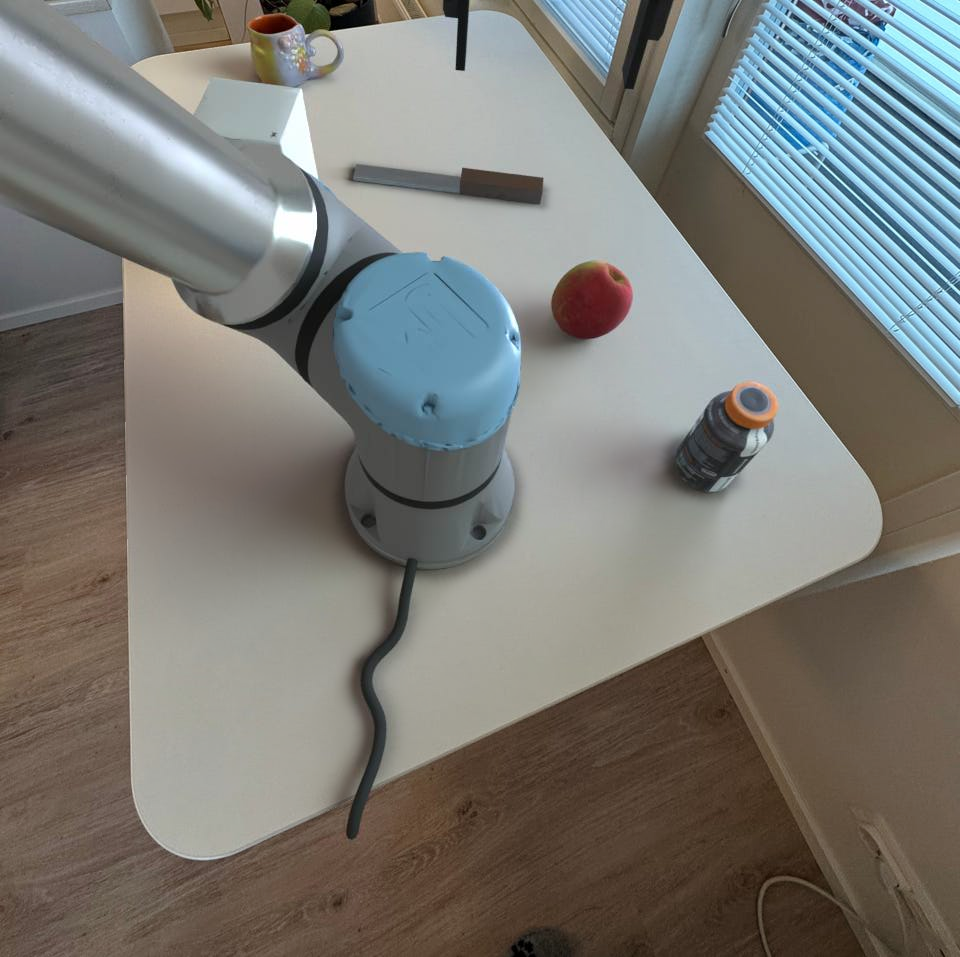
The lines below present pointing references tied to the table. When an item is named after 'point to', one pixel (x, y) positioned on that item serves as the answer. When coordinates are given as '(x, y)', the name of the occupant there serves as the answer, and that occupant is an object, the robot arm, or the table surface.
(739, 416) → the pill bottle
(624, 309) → the apple
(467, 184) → the wooden handled blade
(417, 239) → the table surface
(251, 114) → the rectangular carton
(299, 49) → the mug
